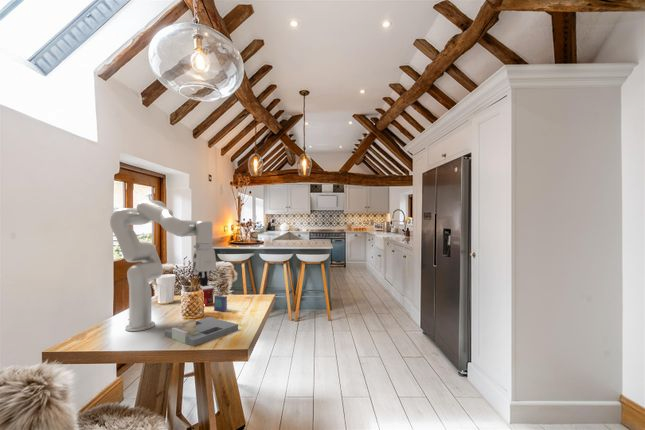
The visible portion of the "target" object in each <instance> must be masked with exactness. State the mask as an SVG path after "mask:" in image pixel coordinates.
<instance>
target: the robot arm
mask: <svg viewBox="0 0 645 430" xmlns="http://www.w3.org/2000/svg"><path fill="white" fill-rule="evenodd" d="M151 222H155V223H157V224H159V225H160V226H161V228H163V230H164V231H166V232H168V233H170V234H172V235H175V236H177V237H195V244H194V245H193V249H195V250H194V252H193V256H192V271H193V273H192V274H193V275H197V276H198V277H199V283H200V284H199V285H200V286H201V287H203V286H209V285H208V284H209V283H208V282H209V279H208V278H209V276H210V275H211V273H214V272H215V270H216V268H217V261H216V260H217V259H216V252H215V249H214V248H213V245H214V244H213V241H214V239H213V235H214V234H213V231H214V229H213V228H214V227H213V225H214V224H213V222H212V221H211V220H187V219H186V220H183V219H182V220H181V219H180V218H176V217H175V216H174V212H173V210H172V209H171V208H168V207H167V205H166V204H165V203H164V202H163V201H161V200H154V199H144V200H141V201H139V202H138V203H137V205H136V208H134V207H133V208H132V207H121V208H118V209H116V210H114V211H113V213H112V214H111V216H110V219H109V225H110V229H111V231H112V232H113V234H114V235H115V238H116V240H117V242H118V246H119V248H120V251H121V253H122V256H123V258H124V260H125V261H126V262H128V263H135V264H132V265H131V266H130V267H129V268H128V269H127V270H126V272H127V273H126V277H127V283H128V290H129V291H128V292H129V296H128V297H129V301H128V304H129V313H128V315H129V316H128V321H129V322H128V324H127V325H126V326H125V330H126V331H127V332H140V331H146V330H149V329H151V328H153V327H155V325H156V322H155V321H153V320H152V300H153V299H152V288H151V285H150V282H149V281H153V280H156V279H157V278H159V277H160V276H161V275H163V273H164V272H163V271H164V268H163V265H162V260H161V259H160V257H159V254H158V252H157V249H156V247H155V246H154V245H153V244H152V243H150V242H148V241H143V242H140V240H139V238H138V235H137V234H136V232H135V230H134V229H132V227H130V226H138V225H139V226H140V225H142V226H143V225H145V224H149V223H151ZM137 262H140V263H137Z"/></svg>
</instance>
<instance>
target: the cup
mask: <svg viewBox="0 0 645 430" xmlns="http://www.w3.org/2000/svg"><path fill="white" fill-rule="evenodd" d="M176 276H177V275H176V274H174V273H173V274H172V273H167V274H162V275H161V276H160V277H159V278H157V279H155V284H156V286H157V287H156V289H157V304H158V305H169V303H170V304H172V302H173V303H174V301H175V283H176Z"/></svg>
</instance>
